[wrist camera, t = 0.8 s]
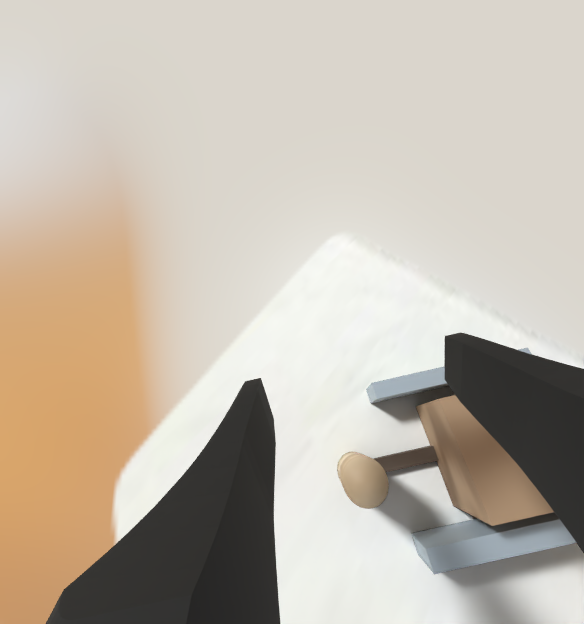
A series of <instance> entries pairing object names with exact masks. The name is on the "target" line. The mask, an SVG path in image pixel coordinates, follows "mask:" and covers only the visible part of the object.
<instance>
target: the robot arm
mask: <svg viewBox="0 0 584 624" xmlns="http://www.w3.org/2000/svg"><path fill="white" fill-rule="evenodd" d="M445 381H446V382H447V384H448V385H449V387H450V388H451V390H452V391H453V393H454V394H455V395H456V397H457V398H458V399H459V401H460V402H461V403H462V404H463V405H464V407H465V408H466V409H467V410H468V411H469V412H470V413H471V414H472V415H473V416H474V418H475V419H476V420H477V421H478V422H479V423H480V424H481V425H482V426H483V427H484V428H485V429H486V430H487V431H488V433H489V434H490V435H491V436H492V437H493V438H494V439H495V440H496V441H497V442H498V443H499V444H500V445H501V447H502V448H503V449H504V450H505V451H506V452H507V453H508V454H509V455H510V456H511V458H512V459H513V460H514V461H515V462H516V463H517V464H518V466H519V467H520V468H521V469H522V471H523V472H524V473H525V474H526V476H527V477H528V478H529V480H530V481H531V482H532V483H533V485H534V486H535V487H536V488H537V490H538V491H539V492H540V494H541V495H542V496H543V498H544V499H545V500H546V502H547V503H548V504H549V506H550V507H551V508H552V510H553V511H554V512H555V514H556V515H557V516H558V518H559V519H560V520H561V522H562V523H563V525H564V526H565V527H566V529H567V530H568V531H569V533H570V534H571V536H572V537H573V538H574V540H575V541H576V543H577V544H578V546H579V547H580V548H581V550H582V551H583V553H584V369H582V368H578V367H574V366H570V365H566V364H563V363H559V362H556V361H552V360H548V359H545V358H542V357H538V356H535V355H532V354H528V353H525V352H522V351H519V350H516V349H513V348H509V347H506V346H503V345H500V344H497V343H494V342H491V341H488V340H485V339H482V338H478V337H475V336H472V335H468V334H464V333H457V334H453V335H448V336H445ZM275 446H276V442H275V430H274V418H273V415H272V412H271V409H270V405H269V402H268V399H267V396H266V393H265V390H264V387H263V384H262V380H261V378H258V379H254V380H250V381H245V383H244V384H243V386H242V388H241V390H240V391H239V393H238V395H237V397H236V399H235V400H234V402H233V404H232V406H231V407H230V409H229V411H228V412H227V414H226V416H225V417H224V419H223V421H222V422H221V424H220V425H219V427H218V429H217V430H216V432H215V433H214V434H213V436H212V437H211V439H210V440H209V442H208V443H207V445H206V446H205V448H204V449H203V450H202V452H201V453H200V455H199V456H198V457H197V459H196V460H195V461H194V462H193V464H192V465H191V466H190V467H189V469H188V470H187V471H186V472H185V473H184V475H183V476H182V477H181V478H180V479H179V480H178V481H177V483H176V484H175V485H174V486H173V487H172V488H171V489H170V490H169V491H168V492H167V494H166V495H165V496H164V497H163V498H162V499H161V500H160V501H159V502H158V504H157V505H156V506H155V507H154V508H153V509H152V510H151V511H150V512H149V513H148V514H147V515H146V516H145V517H144V518H143V519H142V520H141V521H140V522H139V523H138V524H137V525H136V526H135V527H134V528H133V529H131V530H130V531H129V532H128V533H127V534H126V535H125V536H124V537H123V538H122V539H121V540H120V541H119V542H118V543H117V544H116V545H115V546H113V547H112V548H111V549H110V550H109V551H108V552H107V553H106V554H105V555H103V556H102V557H101V558H100V559H99V560H98V561H96V562H95V563H94V564H93V565H92V566H91V567H90V568H89V569H87V570H86V571H85V572H84V573H83V574H82V575H80V576H79V577H78V578H77V579H76V580H75V581H74V582H72V583H71V584H70V585H69V586H68V587H67V588H65V589H64V591H63V592H62V594H61V596H60V598H59V600H58V601H57V603H56V605H55V608H54V609H53V611H52V613H51V615H50V617H49V618H48V621H47V622H46V624H280V615H279V601H278V587H277V571H276V556H275V537H274V479H275Z"/></svg>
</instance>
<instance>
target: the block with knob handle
mask: <svg viewBox="0 0 584 624" xmlns="http://www.w3.org/2000/svg"><path fill="white" fill-rule="evenodd" d="M416 409H417V411H418V414H419V417H420V419H421V422H422V424H423V427H424V430H425V432H426V435H427V438H428V440H429V443H430V446H427V447H422V448H418V449H414V450H409V451H405V452H400V453H396V454H391V455H387V456H382V457H378V458H374V459H372V458H370V457H367V456H365V455H362V454H360V453H357V452H348V453H346V454H344V455H343V456H342V457H341V458H340V460H339V462H338V467H337V471H338V476H339V478H340V481H341V483H342V485H343V487H344V490H345V492H346V494H347V496H348V497H349V499H350V500H351V501H352V502H353V503H354V504H356V505H357V506H359V507H362V508H367V509H370V508H375V507H377V506H379V505H380V504H381V503H382V502H383V501H384V500H385V498H386V496H387V493H388V488H389V483H388V478H387V475H386V472H390V471H394V470H398V469H403V468H407V467H412V466H416V465H421V464H425V463H430V462H434V461H437V464H438V467H439V469H440V472H441V475H442V477H443V480H444V482H445V485H446V488H447V490H448V493H449V496H450V498H451V501H452V503H453V506H455V507H457V508H459V509H460V510H462V511H464V512H466V513H468V514H470V515H472V516H474V517H476V518H478V519H480V520H482V521H484V522H486V523H488V524H489V525H491V526H494V525H499V524H503V523H508V522H512V521H517V520H521V519H526V518H530V517H535V516H539V515H544V514H548V513H552V512H554V511H553V510H552V508H551V507H550V506H549V504H548V503H547V502H546V500H545V499H544V498H543V496H542V495H541V494H540V492H539V491H538V490H537V488H536V487H535V486H534V485H533V483H532V482H531V481H530V480H529V478H528V477H527V476H526V474H525V473H524V472H523V471H522V469H521V468H520V467H519V466H518V464H517V463H516V462H515V461H514V460H513V459H512V458H511V456H510V455H509V454H508V453H507V452H506V451H505V450H504V449H503V448H502V447H501V445H500V444H499V443H498V442H497V441H496V440H495V439H494V438H493V437H492V436H491V435H490V434H489V433H488V431H487V430H486V429H485V428H484V427H483V426H482V425H481V424H480V423H479V422H478V421H477V420H476V419H475V418H474V416H473V415H472V414H471V413H470V412H469V411H468V410H467V409H466V408H465V407H464V405H463V404H462V403H461V402H460V401H459V399H458V398H457V397H456V395H453V396H449V397H444V398H440V399H437V400H433V401H430V402H427V403H424V404H421V405H418V406H416Z"/></svg>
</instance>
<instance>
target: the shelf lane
mask: <svg viewBox="0 0 584 624" xmlns="http://www.w3.org/2000/svg"><path fill="white" fill-rule="evenodd" d="M519 351H522V352H525V353H528V354H531V353H530V351H529V349H528V348H524V349H520V350H519ZM445 386H449V385H448V384H447V382H446V381H445V367H440V368H436V369H432V370H427V371H423V372H418V373H414V374H409V375H405V376H401V377H396V378H392V379H387V380H383V381H379V382H374V383H371V385H370V386H369V387H368V388H367V389H366V390H367V393H368V396H369V399H370V403H375V402H379V401H384V400H388V399H392V398H397V397H401V396H406V395H410V394H414V393H419V392H423V391H428V390H432V389H437V388H441V387H445ZM412 536H413V540H414V543H415V546H416V549H417V552H418V555H419V556H420V557H421V559H422V560H423V561H424V562H425V564H426V565H427V566H428V567H429V569H430V570H431V571H432V572H433V573H434V574H438V573H442V572H447V571H451V570H456V569H460V568H465V567H469V566H474V565H478V564H483V563H487V562H492V561H496V560H501V559H505V558H510V557H514V556H519V555H524V554H528V553H533V552H537V551H542V550H546V549H551V548H555V547H560V546H564V545H569V544H573V543H576V541H575V540H574V538H573V537H572V536H571V534H570V533H569V531H568V530H567V529H566V527H565V526H564V525H563V523H562V522H561V520H560V519H559V518H558V516H557V515H556V514H555V512H552V513H548V514H544V515H539V516H535V517H530V518H526V519H521V520H517V521H512V522H508V523H503V524H499V525H494V526H491V525H489V524H488V523H486V522H484V521H482V520H480V519H474V520H469V521H465V522H460V523H456V524H451V525H447V526H442V527H438V528H433V529H429V530H424V531H420V532H415V533H412Z"/></svg>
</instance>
